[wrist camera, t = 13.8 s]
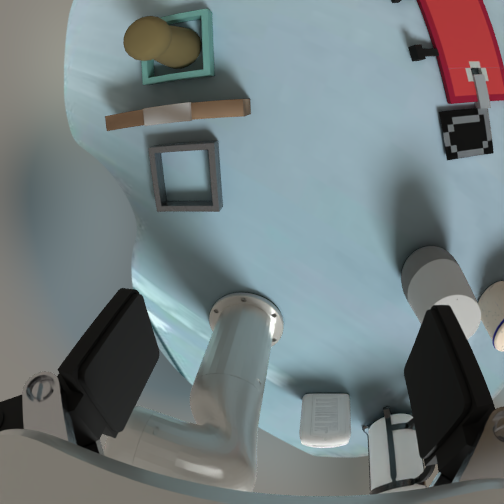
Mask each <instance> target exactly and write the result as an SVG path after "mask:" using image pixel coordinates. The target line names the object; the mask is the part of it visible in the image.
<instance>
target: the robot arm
mask: <svg viewBox="0 0 504 504" xmlns="http://www.w3.org/2000/svg"><path fill="white" fill-rule="evenodd" d="M209 322H210V326H211V329H212V331H213V333H212V336H211V338H210V341H209V344H208V346H207V349H206V352H205V354H204V357H203V360H202V362H201V365H200V368H199V370H198V373H197V376H196V379H195V381H194V384H193V387H192V389H191V394H190V406H191V410H192V413H193V416H194V418H195V421H196V423H197V424H193V423H188V422H185V421H182V420H179V419H176V418H173V417H170V416H168V415H165V414H162V413H159V412H157V411H154V410H151V409H148V408H145V407H141V406H136V403H137V401H138V399H139V397H140V395H141V393H142V391H143V389H144V387H145V385H146V383H147V381H148V379H149V377H150V375H151V373H152V371H153V369H154V367H155V365H156V363H157V361H158V358H159V348H158V345H157V342H156V339H155V336H154V332H153V329H152V326H151V323H150V319H149V316H148V313H147V309H146V306H145V302H144V298H143V296H142V295H141V294H139V292H138V291H137V290H134V289H125V288H121V289H120V290H118V292H117V293H116V294H115V295H114V297H113V298H112V299H111V300H110V302H109V303H108V304H107V305H106V307H105V308H104V309H103V310H102V312H101V313H100V314H99V315H98V317H97V318H96V319H95V320H94V322H93V323H92V324H91V326H90V327H89V328H88V329H87V331H86V332H85V333H84V335H83V336H82V337H81V339H80V340H79V341H78V343H77V344H76V345H75V347H74V348H73V349H72V351H71V352H70V353H69V355H68V356H67V357H66V359H65V360H64V361H63V363H62V364H61V366H60V367H59V368H58V371H59V374H58V376H56V375H55V374H53V373H51V372H46V371H44V372H39V373H37V374H34V375H33V376H32V377H30V378H29V379H28V380H27V382H26V383H25V385H24V387H23V392H22V395H20V396H17V397H14V398H11V399H8V400H5V401H2V402H0V504H504V407H499V408H497V409H495V407H494V404H493V400H492V398H491V395H490V392H489V390H488V387H487V385H486V382H485V380H484V377H483V375H482V372H481V370H480V367H479V365H478V363H477V360H476V358H475V356H474V354H473V351H472V349H471V347H470V345H469V343H468V340H467V338H466V336H465V334H464V332H463V330H462V328H461V326H460V324H459V322H458V320H457V318H456V316H455V314H454V312H453V310H452V308H451V307H450V305H433V306H432V307H431V309H430V310H427V311H426V313H425V316H424V319H423V322H422V324H421V327H420V330H419V333H418V335H417V338H416V340H415V343H414V346H413V348H412V351H411V353H410V355H409V358H408V360H407V363H406V365H405V369H404V376H405V380H406V385H407V389H408V394H409V399H410V404H411V409H412V414H413V420H414V425H415V431H416V437H417V443H418V450H419V456H420V458H421V459H424V462H425V466H428V465H434V464H438V470H439V472H438V474H437V476H436V477H435V479H434V480H433V482H432V483H431V485H430V486H429V487H428V488H422V489H416V490H408V491H401V492H392V493H383V494H372V495H359V496H321V497H320V496H318V497H317V496H291V495H275V494H264V493H255V492H252V491H253V488H254V486H255V481H256V477H257V433H258V424H259V417H260V411H261V405H262V398H263V393H264V387H265V381H266V375H267V369H268V363H269V357H270V350H271V347H272V346H273V345H275V344H276V343H277V342H278V341H279V339H280V338H281V336H282V334H283V328H284V322H283V317H282V315H281V313H280V311H279V310H278V309H277V307H276V306H275V305H274V304H272V303H271V302H270V301H268V300H267V299H265V298H263V297H261V296H258V295H255V294H251V293H233V294H228V295H226V296H224V297H222V298H220V299H219V300H218V301H217V302H216V303H215V304H214V305H213V307H212V309H211V312H210V316H209ZM102 434H105V435H107V440H106V443H105V447H104V451H103V449H102V445H101V442H100V437H101V435H102Z"/></svg>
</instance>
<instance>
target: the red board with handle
mask: <svg viewBox="0 0 504 504" xmlns="http://www.w3.org/2000/svg"><path fill="white" fill-rule="evenodd" d="M391 1H392V3H399V2H400V1H401V0H391ZM417 2H418V5H419V7H420V10H421V13H422V15H423V18H424V21H425V24H426V26H427V29H428V32H429V35H430V38H431V41H432V44H433V48H434V49H423V48H422V45H414V46H411V47H409V48H408V49H409V52H410V55H411V58H412V61H420V60H423V59H426V58H425V56H436V58H437V61H438V65H439V68H440V72H441V76H442V80H443V84H444V88H445V93H446V97H447V102H448V104H454V103H466V102H475V107H476V108H473V109H462V110H452V111H443V112H439V114H440V119H441V124H442V130H443V136H444V142H445V149H446V156H447V160H452V159H458V158H464V157H470V156H477V155H484V154H491V153H493V144H492V135H491V127H490V120H489V114H488V108H491V106H490V101H499V100H504V66H503V62H502V58H501V54H500V50H499V47H498V43H497V40H496V37H495V34H494V30H493V27H492V24H491V22H490V19H489V16H488V13H487V11H486V8H485V5H484V3H483V0H417ZM471 68H478V72H479V74H476V75H472V72H471Z"/></svg>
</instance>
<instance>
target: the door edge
mask: <svg viewBox="0 0 504 504" xmlns="http://www.w3.org/2000/svg"><path fill="white" fill-rule="evenodd" d="M249 114H251V108H250V99H234V100H218V101H206V102H195V103H191V102H187V103H179V104H171V105H163V106H156V107H150V108H143V109H142V110H136V111H130V112H125V113H120V114H115V115H110V116H105V119H106V128H107V131H110V130H115V129H121V128H128V127H134V126H141V125H145V126H148V125H156V124H164V123H173V122H182V121H192V120H193V119H205V118H220V117H240V116H246V115H249Z"/></svg>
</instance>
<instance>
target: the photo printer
mask: <svg viewBox="0 0 504 504" xmlns="http://www.w3.org/2000/svg"><path fill="white" fill-rule="evenodd" d="M299 433H300V439H301V444H303V445H306V446H310V447H316V448H332V447H338V446H342V445H345V444H348V441H349V438H350V436H351V415H350V396H349V395H348V394H305V395H304V396H303V399H302V411H301V421H300V432H299Z"/></svg>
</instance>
